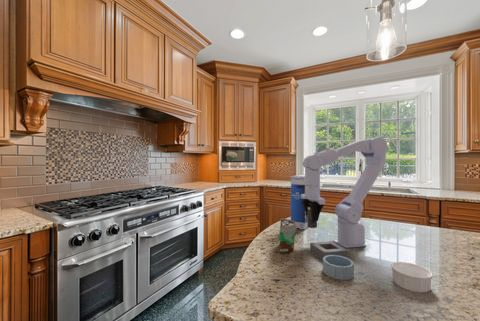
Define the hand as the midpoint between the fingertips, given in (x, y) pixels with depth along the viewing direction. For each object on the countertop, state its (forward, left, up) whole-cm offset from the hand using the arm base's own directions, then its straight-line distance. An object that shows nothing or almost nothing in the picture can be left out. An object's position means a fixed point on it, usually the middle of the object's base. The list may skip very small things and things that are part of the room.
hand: (312, 219), depth 91 cm
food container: (+11, +3, -10) cm, 15 cm away
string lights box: (-9, -25, -10) cm, 28 cm away
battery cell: (0, 0, -3) cm, 3 cm away
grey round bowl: (+5, +23, -10) cm, 25 cm away
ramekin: (-10, +33, -10) cm, 36 cm away
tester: (0, +11, -10) cm, 15 cm away
